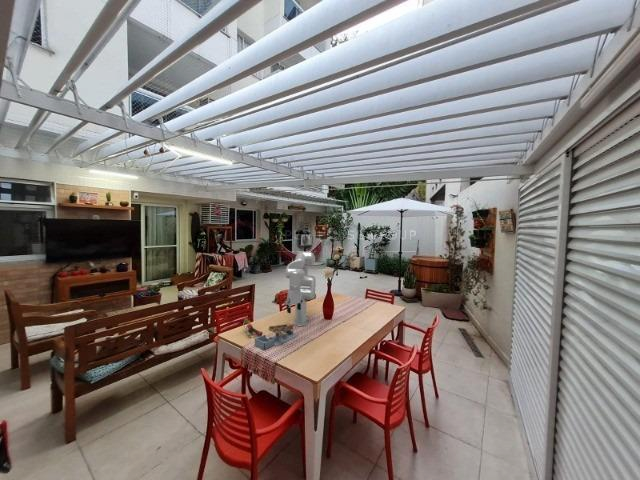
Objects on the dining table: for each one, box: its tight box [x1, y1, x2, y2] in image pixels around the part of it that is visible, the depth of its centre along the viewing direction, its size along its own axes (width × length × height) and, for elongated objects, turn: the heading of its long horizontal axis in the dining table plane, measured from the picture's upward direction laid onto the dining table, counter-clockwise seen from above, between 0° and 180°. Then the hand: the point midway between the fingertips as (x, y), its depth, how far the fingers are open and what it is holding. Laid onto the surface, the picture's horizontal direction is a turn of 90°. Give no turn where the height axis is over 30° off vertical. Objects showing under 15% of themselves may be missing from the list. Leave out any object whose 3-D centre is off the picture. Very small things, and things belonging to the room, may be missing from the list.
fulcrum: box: [268, 328, 298, 347], centre depth 189 cm, size 21×12×8 cm, turn 141°
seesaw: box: [268, 323, 295, 336], centre depth 187 cm, size 20×15×3 cm
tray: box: [254, 334, 276, 351], centre depth 178 cm, size 9×11×5 cm
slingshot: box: [242, 317, 264, 338], centre depth 195 cm, size 17×10×15 cm
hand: (294, 311), depth 181 cm, fingers open, 9 cm apart
